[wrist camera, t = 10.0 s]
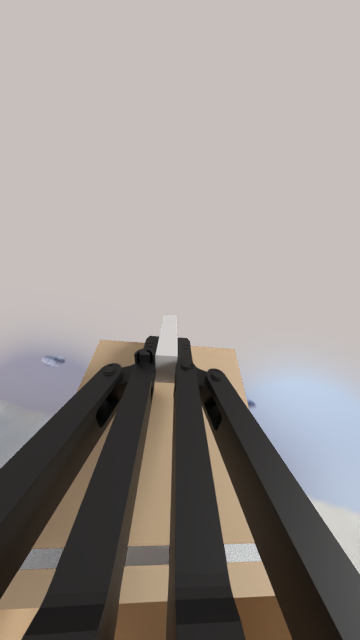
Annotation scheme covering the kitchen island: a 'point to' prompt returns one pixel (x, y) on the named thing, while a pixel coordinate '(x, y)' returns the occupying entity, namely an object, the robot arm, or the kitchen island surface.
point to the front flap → (155, 459)
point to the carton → (150, 602)
